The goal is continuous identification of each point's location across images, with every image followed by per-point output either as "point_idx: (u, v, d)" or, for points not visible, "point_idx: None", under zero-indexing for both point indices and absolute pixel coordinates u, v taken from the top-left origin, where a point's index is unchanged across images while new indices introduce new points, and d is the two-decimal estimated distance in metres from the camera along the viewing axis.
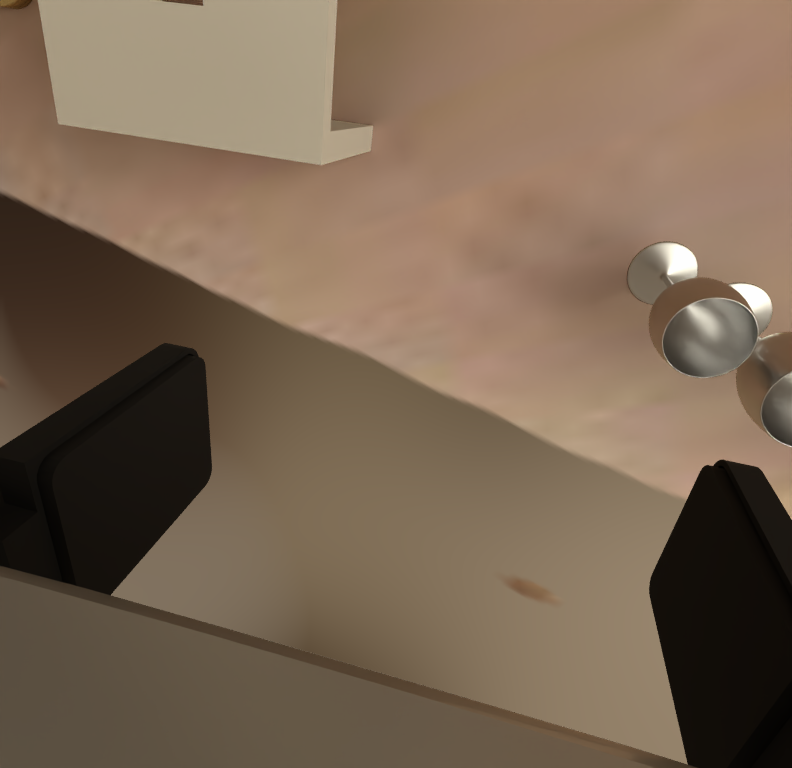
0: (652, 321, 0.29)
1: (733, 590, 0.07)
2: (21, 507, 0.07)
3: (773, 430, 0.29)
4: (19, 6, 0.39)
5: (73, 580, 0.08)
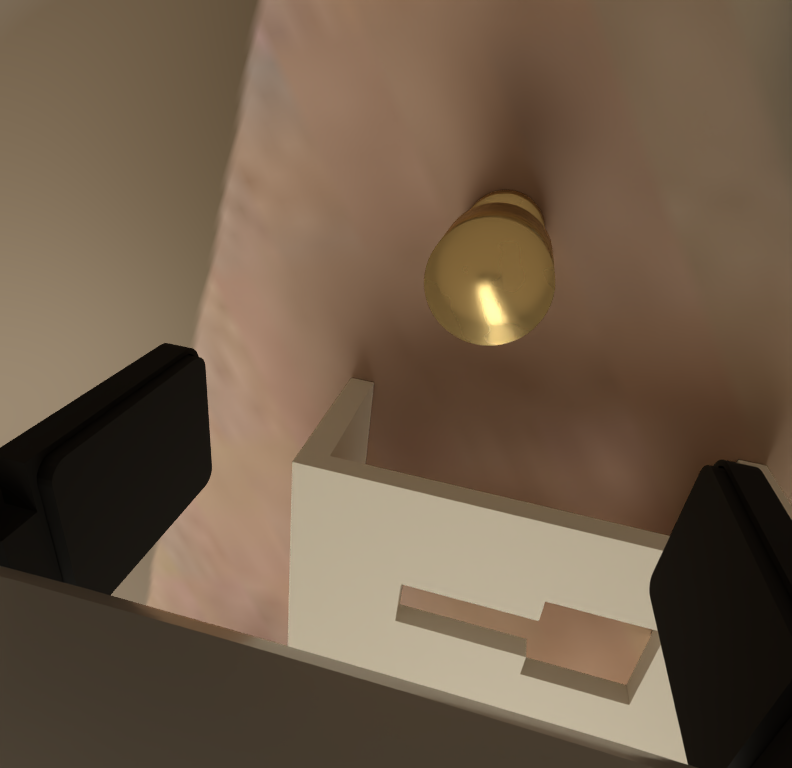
0: None
1: (733, 590, 0.07)
2: (21, 507, 0.07)
3: None
4: None
5: (73, 580, 0.08)
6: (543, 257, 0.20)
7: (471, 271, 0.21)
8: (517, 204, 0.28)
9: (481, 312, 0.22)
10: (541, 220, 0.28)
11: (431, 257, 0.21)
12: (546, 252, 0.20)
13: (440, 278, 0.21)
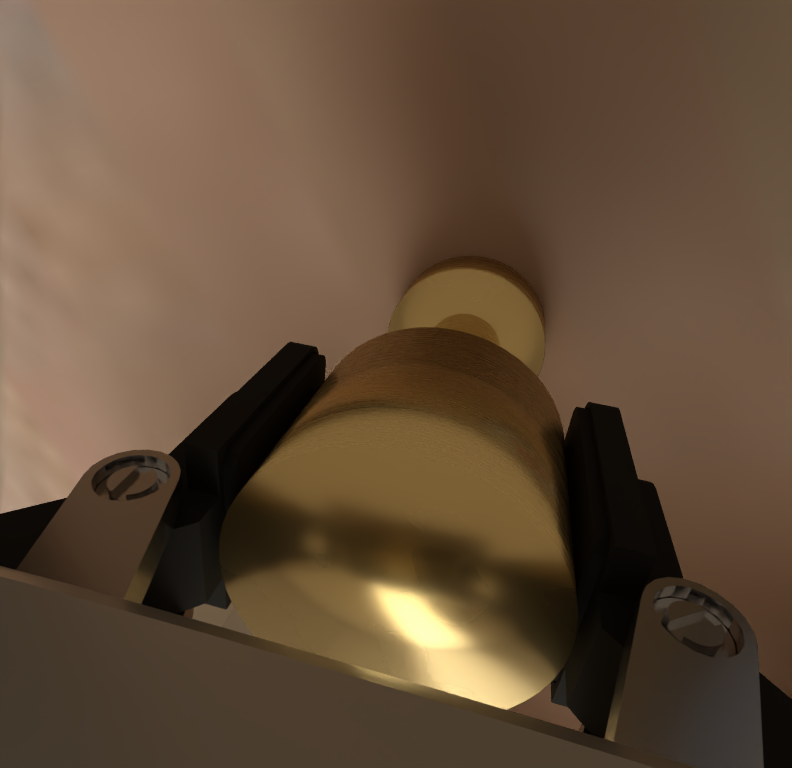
0: None
1: (574, 503, 0.08)
2: (206, 492, 0.08)
3: None
4: None
5: None
6: (541, 561, 0.07)
7: (339, 567, 0.07)
8: (491, 290, 0.14)
9: (376, 652, 0.08)
10: (538, 321, 0.14)
11: (228, 523, 0.07)
12: (552, 548, 0.07)
13: (261, 571, 0.08)
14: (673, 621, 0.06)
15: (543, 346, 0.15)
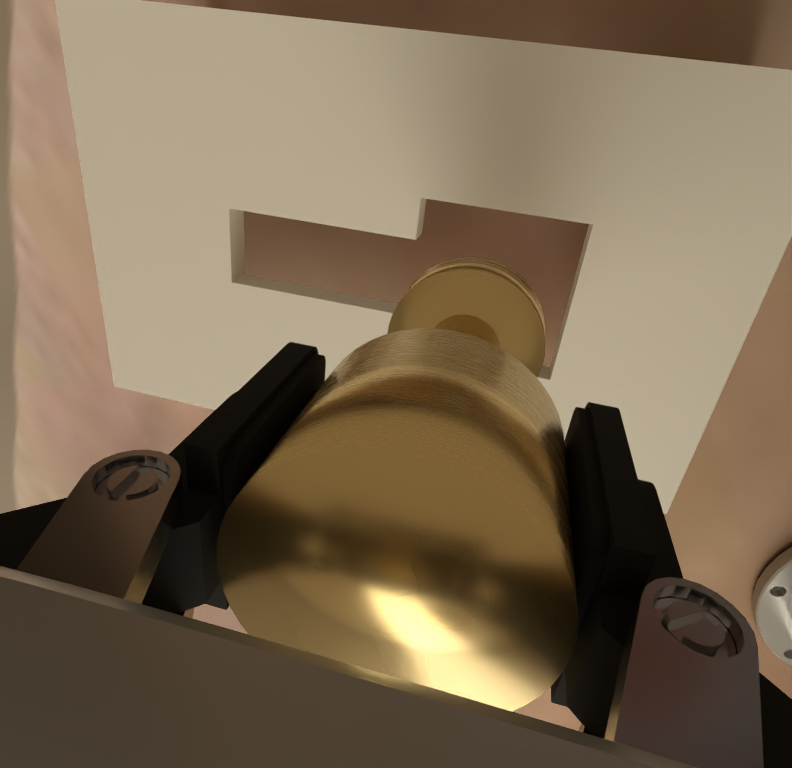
0: None
1: (574, 503, 0.08)
2: (206, 492, 0.08)
3: None
4: None
5: None
6: (541, 564, 0.07)
7: (338, 569, 0.07)
8: (491, 291, 0.14)
9: (374, 656, 0.08)
10: (538, 322, 0.14)
11: (225, 526, 0.07)
12: (552, 551, 0.06)
13: (259, 574, 0.08)
14: (673, 621, 0.06)
15: (543, 347, 0.15)
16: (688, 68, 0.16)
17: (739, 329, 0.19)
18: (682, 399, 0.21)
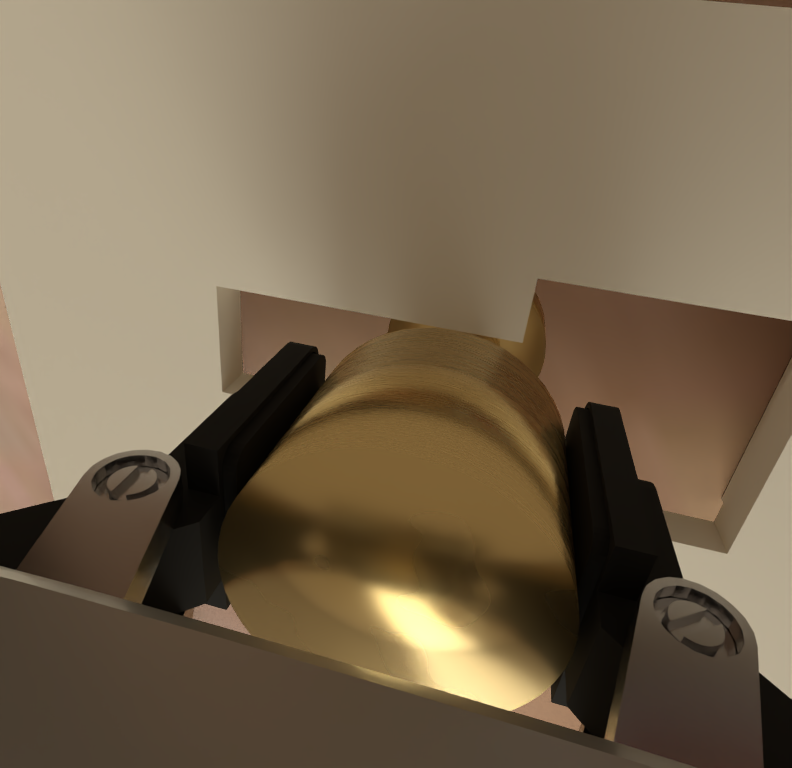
0: None
1: (574, 503, 0.08)
2: (206, 492, 0.08)
3: None
4: None
5: None
6: (542, 564, 0.07)
7: (340, 568, 0.07)
8: None
9: (376, 654, 0.08)
10: (538, 321, 0.14)
11: (227, 525, 0.07)
12: (554, 550, 0.06)
13: (260, 573, 0.08)
14: (673, 621, 0.06)
15: (543, 346, 0.15)
16: None
17: None
18: None
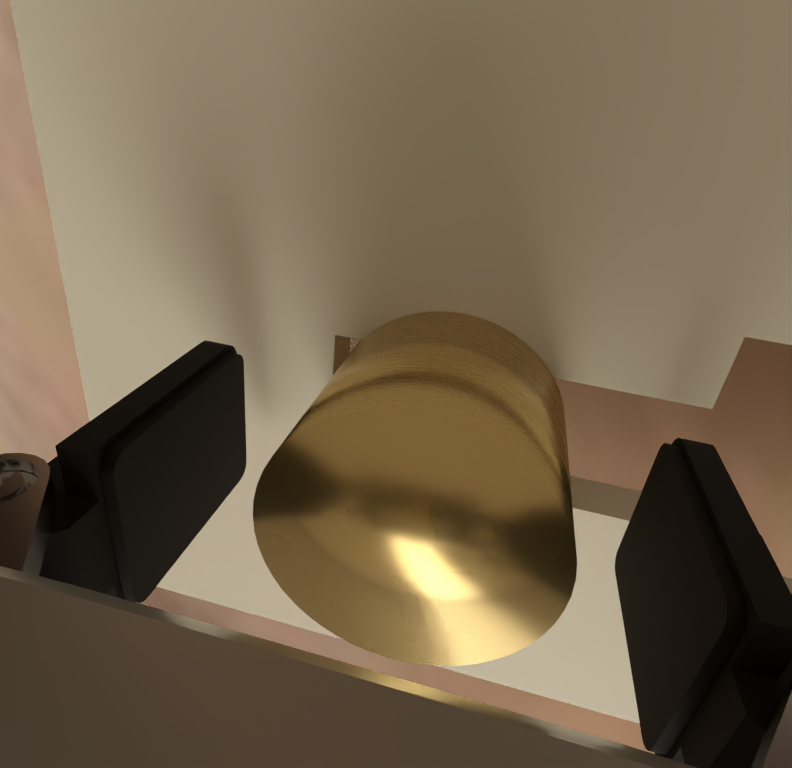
0: None
1: (680, 556, 0.08)
2: (83, 497, 0.07)
3: None
4: None
5: (127, 569, 0.08)
6: (545, 511, 0.07)
7: (363, 522, 0.08)
8: None
9: (394, 602, 0.09)
10: None
11: (262, 483, 0.08)
12: (554, 499, 0.07)
13: (291, 528, 0.09)
14: None
15: None
16: None
17: None
18: None
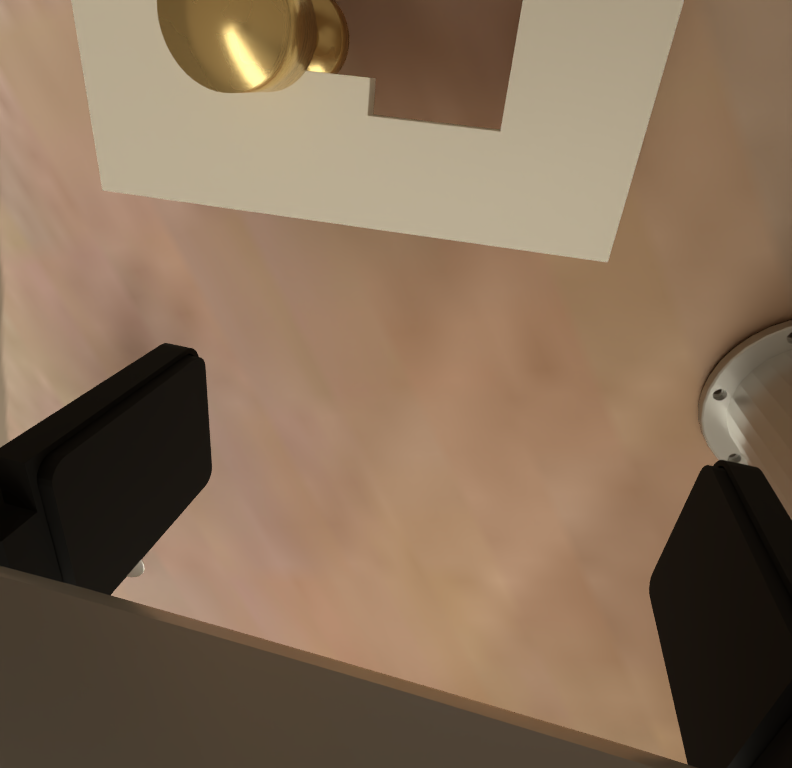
0: None
1: (733, 590, 0.07)
2: (21, 507, 0.07)
3: None
4: None
5: (73, 580, 0.08)
6: None
7: (200, 1, 0.20)
8: None
9: (220, 51, 0.21)
10: (335, 12, 0.27)
11: None
12: None
13: (173, 14, 0.21)
14: None
15: (340, 29, 0.28)
16: None
17: (659, 57, 0.22)
18: (615, 137, 0.23)
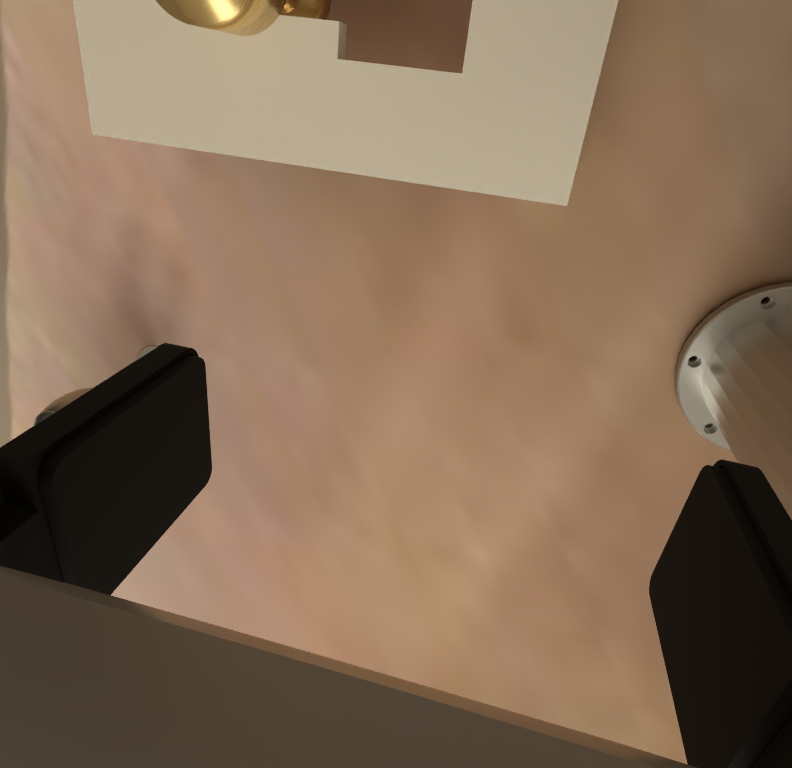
0: (69, 397, 0.40)
1: (733, 590, 0.07)
2: (21, 507, 0.07)
3: None
4: None
5: (73, 580, 0.08)
6: None
7: None
8: None
9: None
10: None
11: None
12: None
13: None
14: None
15: None
16: None
17: None
18: (571, 79, 0.24)
